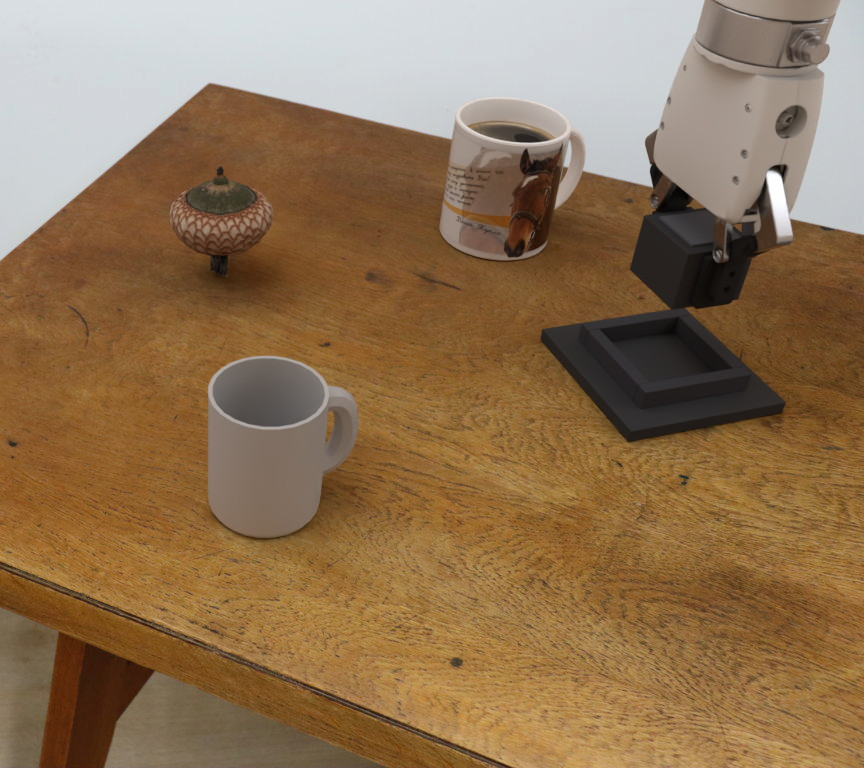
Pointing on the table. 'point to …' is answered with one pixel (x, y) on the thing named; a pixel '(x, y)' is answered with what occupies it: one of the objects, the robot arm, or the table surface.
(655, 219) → the small cube
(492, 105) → the mug
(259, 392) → the cup
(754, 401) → the base pad
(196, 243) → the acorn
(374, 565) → the table surface
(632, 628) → the table surface
